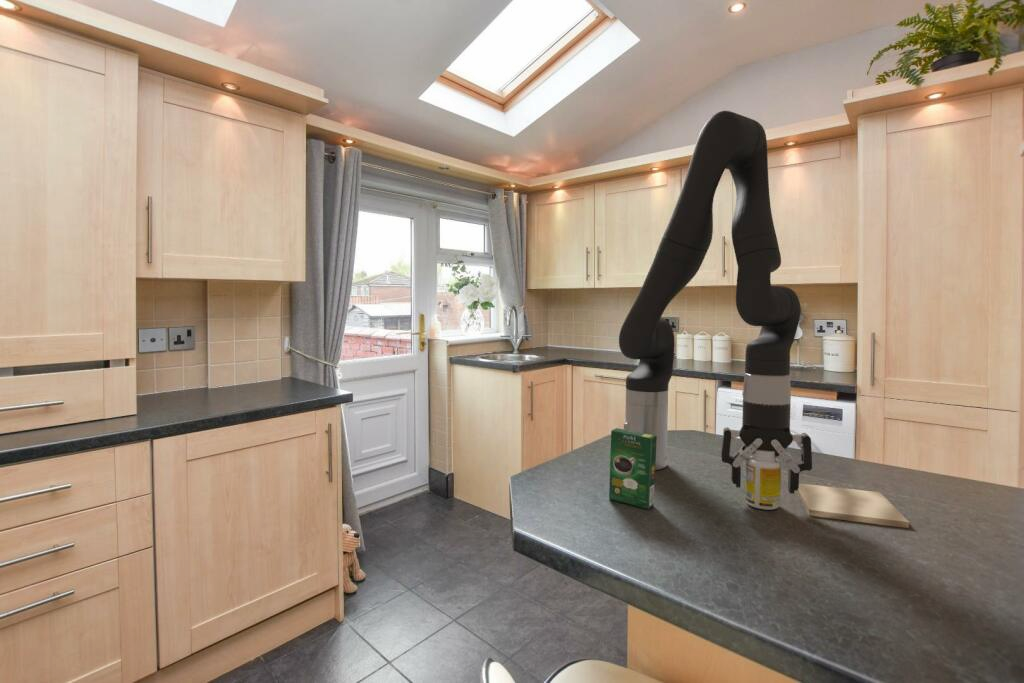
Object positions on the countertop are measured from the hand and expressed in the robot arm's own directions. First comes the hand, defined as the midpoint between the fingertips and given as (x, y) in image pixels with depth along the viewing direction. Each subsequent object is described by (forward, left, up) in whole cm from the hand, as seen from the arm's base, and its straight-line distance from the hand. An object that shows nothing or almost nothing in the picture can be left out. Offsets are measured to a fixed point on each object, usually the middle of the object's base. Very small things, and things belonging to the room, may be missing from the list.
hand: (764, 489), depth 89 cm
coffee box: (-22, -7, -3) cm, 24 cm away
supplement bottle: (0, 0, -3) cm, 3 cm away
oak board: (+14, +5, -3) cm, 15 cm away
